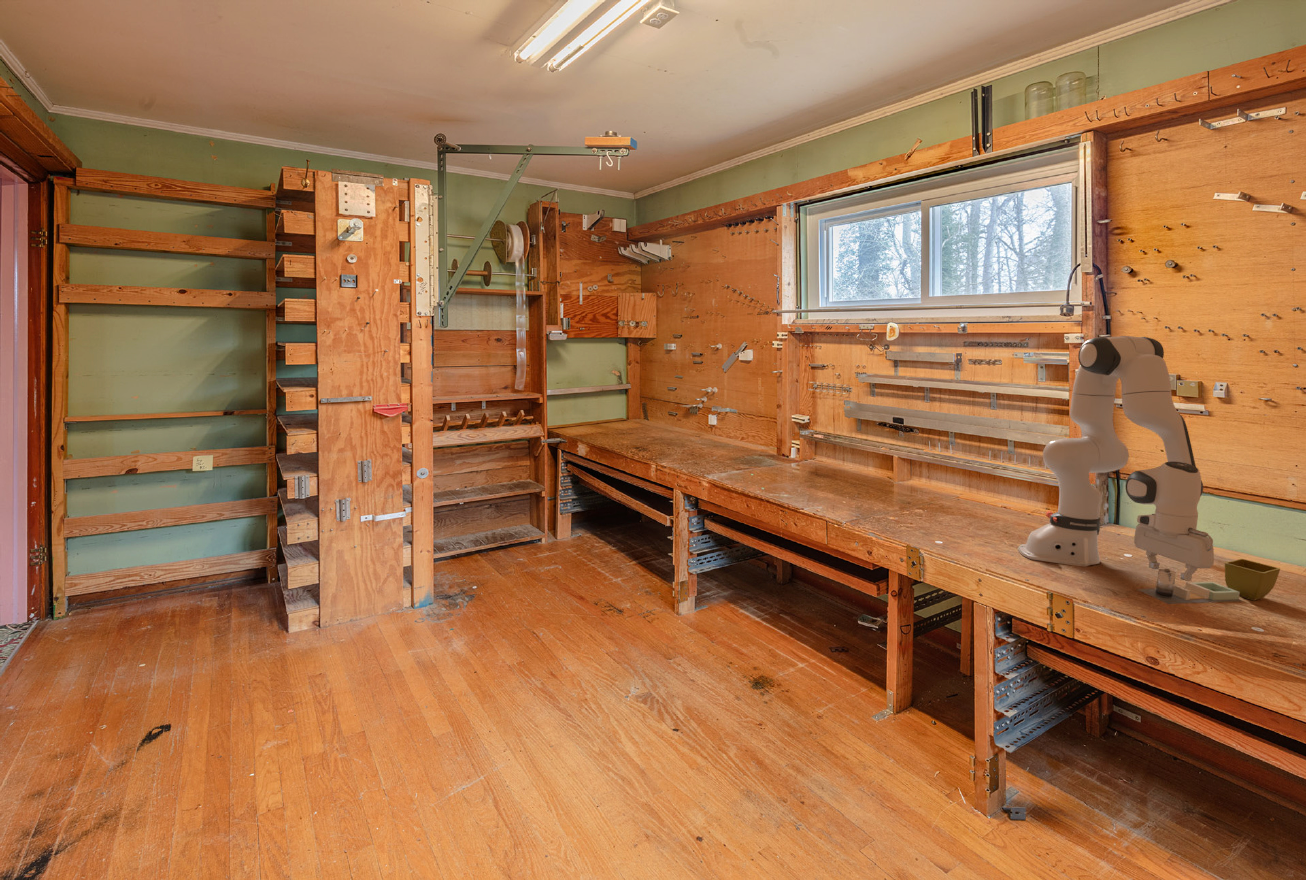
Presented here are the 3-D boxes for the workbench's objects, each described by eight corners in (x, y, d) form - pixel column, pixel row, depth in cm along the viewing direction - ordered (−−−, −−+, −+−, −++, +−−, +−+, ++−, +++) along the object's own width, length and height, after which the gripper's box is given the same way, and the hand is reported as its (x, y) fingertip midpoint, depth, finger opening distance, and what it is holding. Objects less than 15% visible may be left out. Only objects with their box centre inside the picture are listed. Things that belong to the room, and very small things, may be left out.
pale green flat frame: (1213, 600, 172) (1214, 593, 171) (1186, 589, 179) (1187, 582, 179) (1238, 599, 173) (1239, 592, 172) (1211, 588, 180) (1212, 581, 180)
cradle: (1185, 599, 172) (1187, 591, 171) (1165, 591, 178) (1166, 582, 177) (1208, 599, 172) (1210, 590, 172) (1187, 590, 178) (1189, 581, 178)
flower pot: (1258, 605, 171) (1263, 572, 170) (1219, 593, 179) (1223, 562, 178) (1275, 600, 175) (1281, 568, 174) (1236, 588, 183) (1241, 558, 182)
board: (1168, 607, 169) (1168, 603, 169) (1135, 592, 179) (1136, 589, 179) (1242, 604, 172) (1243, 601, 171) (1206, 590, 181) (1207, 586, 181)
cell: (1158, 597, 173) (1162, 570, 172) (1152, 592, 176) (1156, 566, 175) (1174, 599, 172) (1178, 572, 171) (1168, 594, 175) (1172, 568, 174)
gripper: (1224, 534, 161) (1217, 587, 163) (1152, 514, 181) (1147, 562, 183) (1201, 534, 160) (1195, 588, 162) (1132, 514, 180) (1127, 562, 182)
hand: (1169, 574), depth 172 cm, fingers open, 8 cm apart
